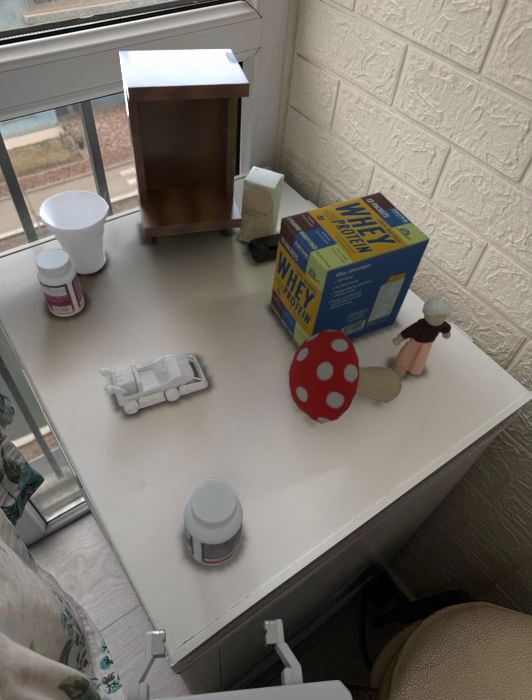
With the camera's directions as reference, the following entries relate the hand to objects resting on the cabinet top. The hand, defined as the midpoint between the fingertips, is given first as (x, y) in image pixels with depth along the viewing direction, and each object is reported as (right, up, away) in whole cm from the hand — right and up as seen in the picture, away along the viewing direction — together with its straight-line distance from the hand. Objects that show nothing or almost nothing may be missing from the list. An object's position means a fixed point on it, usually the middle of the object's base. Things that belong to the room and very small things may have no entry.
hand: (215, 625), depth 41 cm
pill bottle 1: (-23, +29, +28) cm, 47 cm away
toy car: (-9, +18, +21) cm, 29 cm away
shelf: (-8, +40, +39) cm, 57 cm away
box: (+3, +41, +41) cm, 58 cm away
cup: (-23, +35, +34) cm, 54 cm away
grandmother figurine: (+23, +20, +26) cm, 41 cm away
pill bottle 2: (-1, +3, +10) cm, 11 cm away
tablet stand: (+10, +39, +40) cm, 57 cm away
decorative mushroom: (+13, +17, +23) cm, 31 cm away
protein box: (+14, +27, +31) cm, 44 cm away
